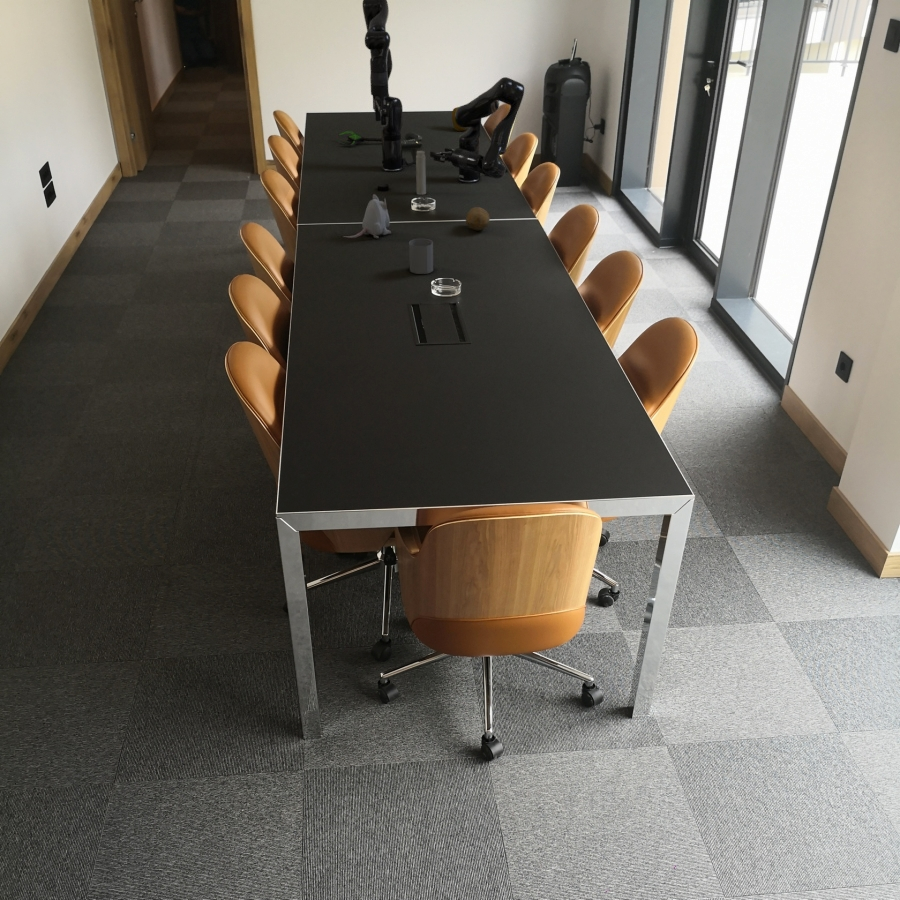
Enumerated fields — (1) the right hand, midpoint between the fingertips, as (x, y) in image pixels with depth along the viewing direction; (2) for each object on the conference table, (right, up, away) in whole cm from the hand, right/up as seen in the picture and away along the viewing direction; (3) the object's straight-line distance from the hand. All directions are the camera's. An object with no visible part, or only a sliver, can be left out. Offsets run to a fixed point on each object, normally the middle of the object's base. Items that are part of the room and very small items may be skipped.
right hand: (437, 152), depth 370 cm
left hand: (-25, +15, +7) cm, 30 cm away
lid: (-25, -8, +22) cm, 34 cm away
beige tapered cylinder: (-8, -12, +18) cm, 23 cm away
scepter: (-40, +36, +93) cm, 108 cm away
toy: (-27, -45, -33) cm, 62 cm away
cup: (-5, -63, -62) cm, 89 cm away
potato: (+16, -39, -24) cm, 49 cm away
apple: (+12, +54, +121) cm, 133 cm away
